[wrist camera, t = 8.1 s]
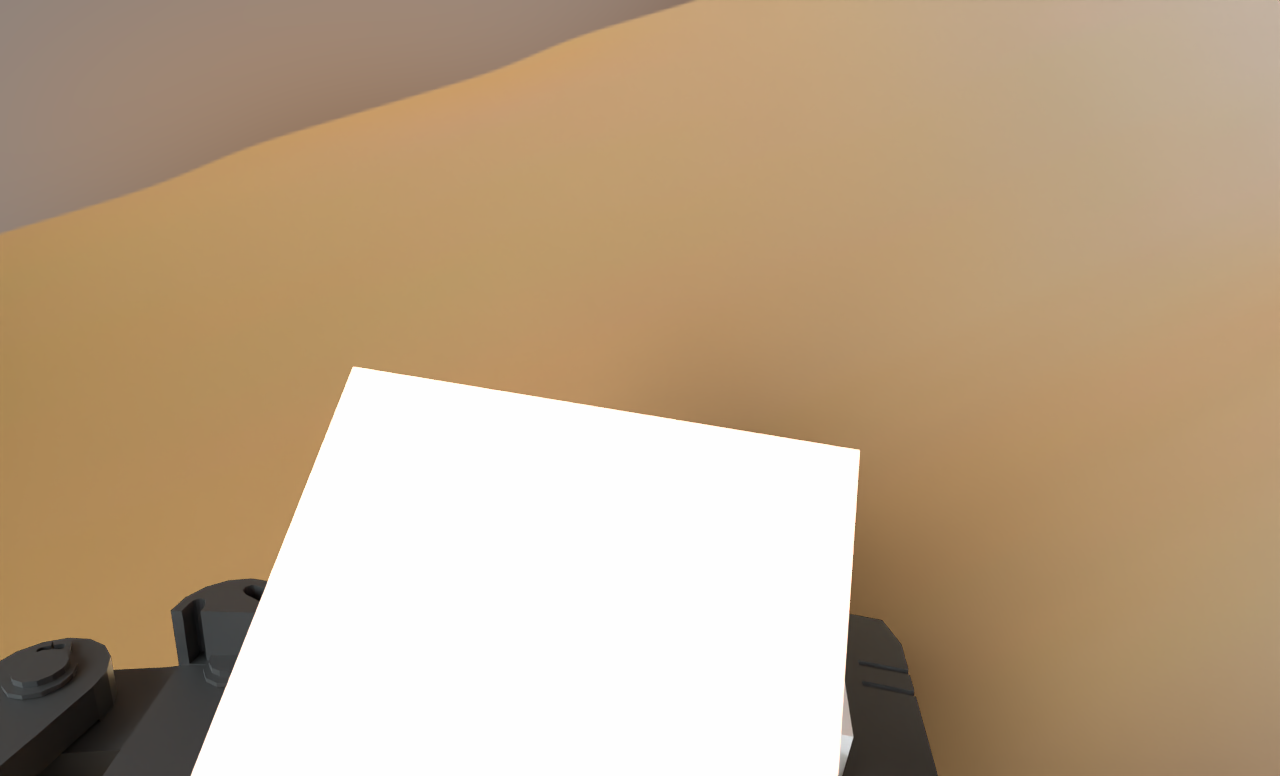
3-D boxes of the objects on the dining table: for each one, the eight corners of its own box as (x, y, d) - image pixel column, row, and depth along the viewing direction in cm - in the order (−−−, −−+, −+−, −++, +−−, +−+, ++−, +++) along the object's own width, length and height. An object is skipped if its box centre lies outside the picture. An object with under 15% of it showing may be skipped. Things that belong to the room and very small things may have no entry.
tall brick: (486, 800, 16) (108, 982, 5) (540, 577, 18) (353, 367, 7) (706, 850, 15) (812, 1174, 5) (737, 614, 18) (860, 449, 7)
